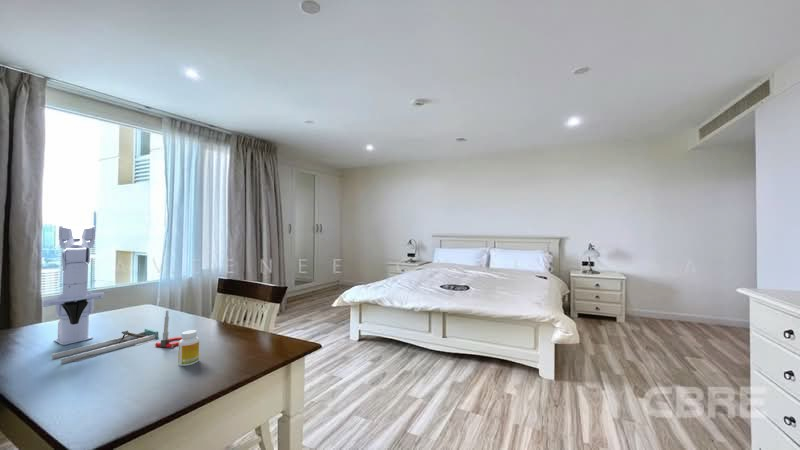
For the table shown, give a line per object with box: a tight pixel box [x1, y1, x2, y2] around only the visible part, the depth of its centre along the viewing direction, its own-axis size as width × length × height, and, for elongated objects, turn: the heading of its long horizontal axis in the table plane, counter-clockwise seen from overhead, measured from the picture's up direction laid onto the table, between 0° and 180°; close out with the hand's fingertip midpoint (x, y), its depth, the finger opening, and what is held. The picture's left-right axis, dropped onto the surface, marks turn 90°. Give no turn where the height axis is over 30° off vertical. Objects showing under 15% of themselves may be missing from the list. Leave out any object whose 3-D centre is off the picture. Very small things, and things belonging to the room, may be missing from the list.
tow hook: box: [154, 310, 182, 349], centre depth 114 cm, size 8×13×9 cm
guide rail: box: [51, 327, 159, 365], centre depth 108 cm, size 10×26×2 cm, turn 153°
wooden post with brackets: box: [118, 330, 148, 344], centre depth 114 cm, size 2×8×4 cm, turn 126°
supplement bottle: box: [177, 329, 200, 367], centre depth 97 cm, size 5×5×10 cm
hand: (74, 323), depth 103 cm, fingers closed
